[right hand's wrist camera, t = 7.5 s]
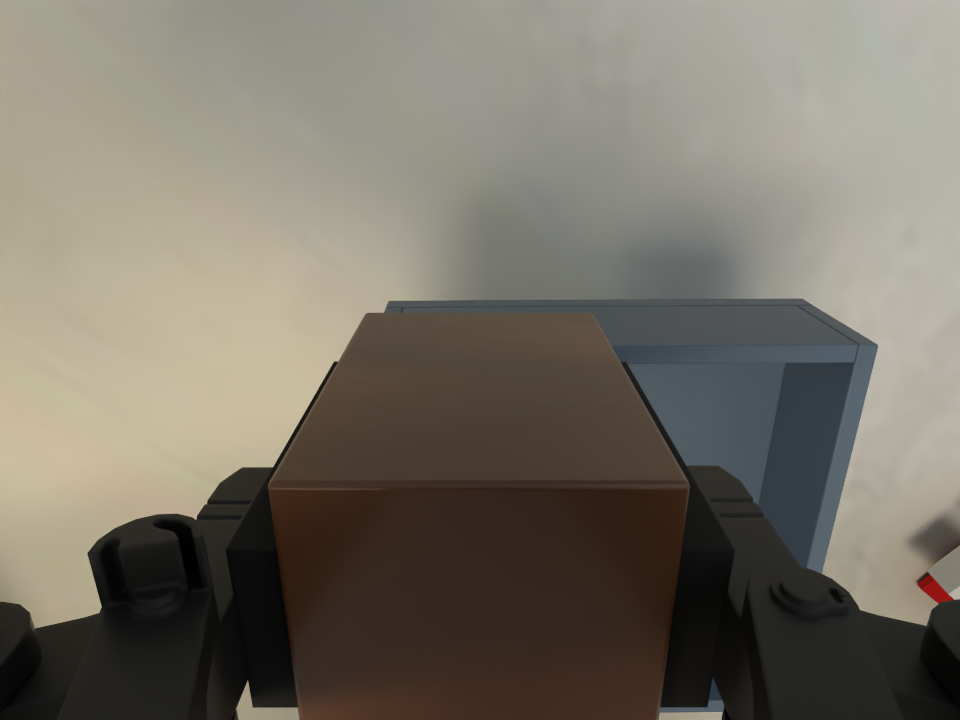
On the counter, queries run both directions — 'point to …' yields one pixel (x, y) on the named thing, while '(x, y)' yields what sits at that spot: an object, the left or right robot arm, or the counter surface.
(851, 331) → the tray
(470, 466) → the block
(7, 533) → the counter surface
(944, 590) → the toy
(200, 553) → the right robot arm
